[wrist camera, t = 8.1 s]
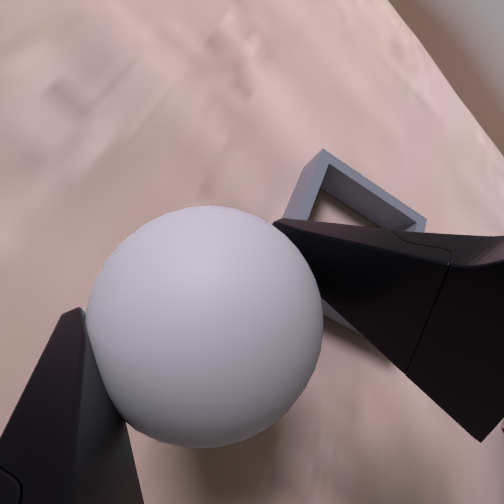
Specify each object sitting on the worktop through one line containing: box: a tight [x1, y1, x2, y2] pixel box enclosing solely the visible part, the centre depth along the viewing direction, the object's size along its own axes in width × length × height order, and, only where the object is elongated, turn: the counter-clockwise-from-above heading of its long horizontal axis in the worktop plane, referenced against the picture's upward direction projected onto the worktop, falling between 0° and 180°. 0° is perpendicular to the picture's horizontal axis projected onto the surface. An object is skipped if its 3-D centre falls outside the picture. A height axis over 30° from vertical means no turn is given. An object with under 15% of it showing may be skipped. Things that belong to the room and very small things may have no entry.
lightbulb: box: [85, 205, 323, 449], centre depth 10 cm, size 6×6×11 cm
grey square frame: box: [283, 149, 427, 336], centre depth 20 cm, size 10×10×2 cm
